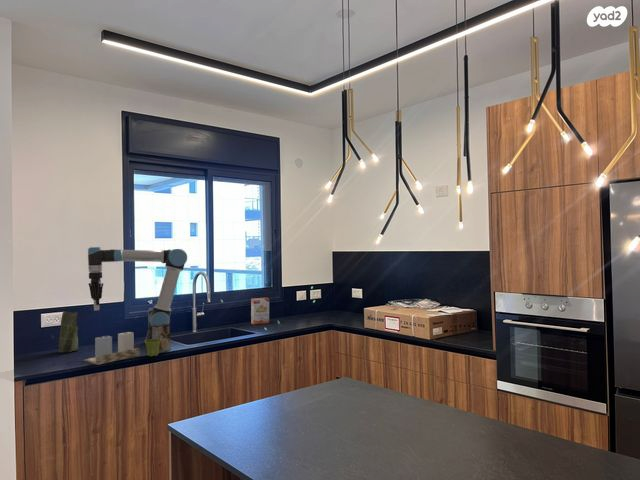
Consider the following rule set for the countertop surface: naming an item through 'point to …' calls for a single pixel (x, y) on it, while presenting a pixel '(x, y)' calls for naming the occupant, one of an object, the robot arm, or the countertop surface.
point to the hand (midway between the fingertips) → (96, 310)
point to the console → (114, 356)
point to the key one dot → (125, 341)
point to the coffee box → (162, 336)
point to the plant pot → (152, 346)
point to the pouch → (68, 333)
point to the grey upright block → (103, 346)
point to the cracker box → (259, 310)
